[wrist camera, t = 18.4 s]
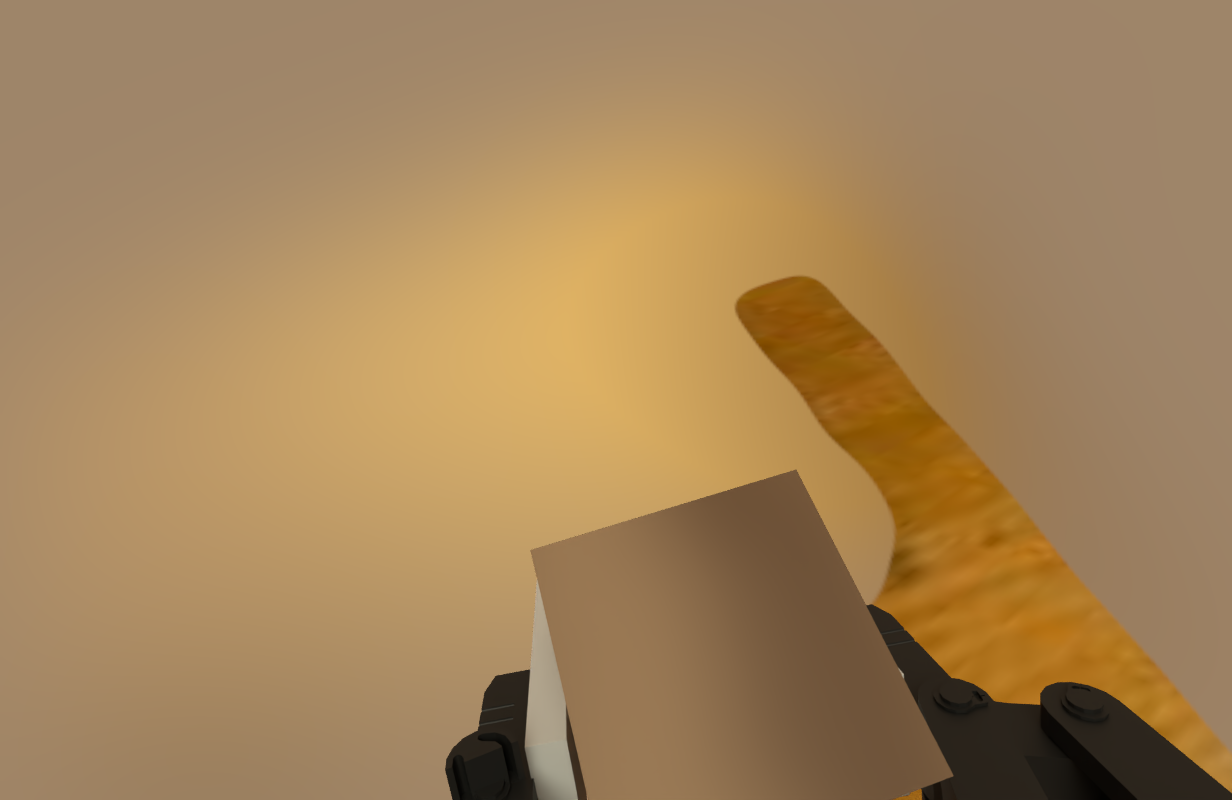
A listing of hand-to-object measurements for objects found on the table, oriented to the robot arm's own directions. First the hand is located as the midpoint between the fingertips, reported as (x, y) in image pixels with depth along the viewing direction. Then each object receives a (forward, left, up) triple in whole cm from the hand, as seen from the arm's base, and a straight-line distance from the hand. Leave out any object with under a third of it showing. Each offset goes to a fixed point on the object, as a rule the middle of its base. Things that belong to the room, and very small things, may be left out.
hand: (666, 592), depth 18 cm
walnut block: (0, -3, -3) cm, 5 cm away
